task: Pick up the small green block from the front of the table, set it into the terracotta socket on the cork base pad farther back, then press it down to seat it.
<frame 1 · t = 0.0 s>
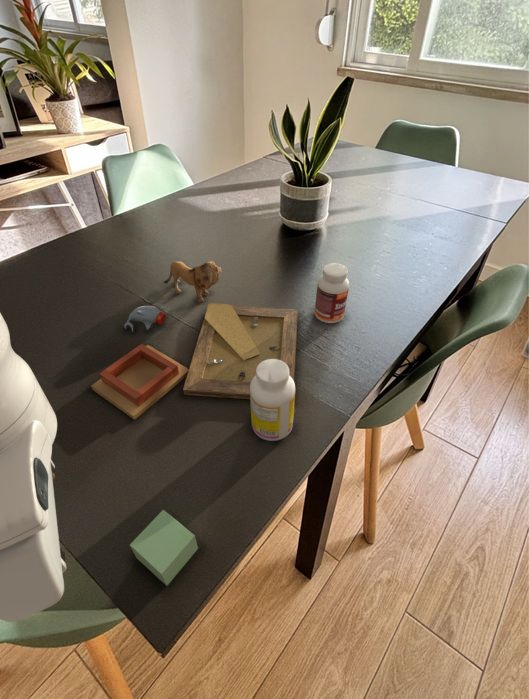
hand: (51, 518, 39), 18 cm above the table, tool pointing down, fingers open, 8 cm apart
lion figurine: (194, 293, 95), on the table
green block: (167, 553, 54), on the table
picture frame: (246, 352, 81), on the table
figurine: (147, 325, 87), on the table
cork base pad: (142, 381, 75), on the table
supplement bottle: (271, 426, 69), on the table
pill bottle: (328, 315, 89), on the table
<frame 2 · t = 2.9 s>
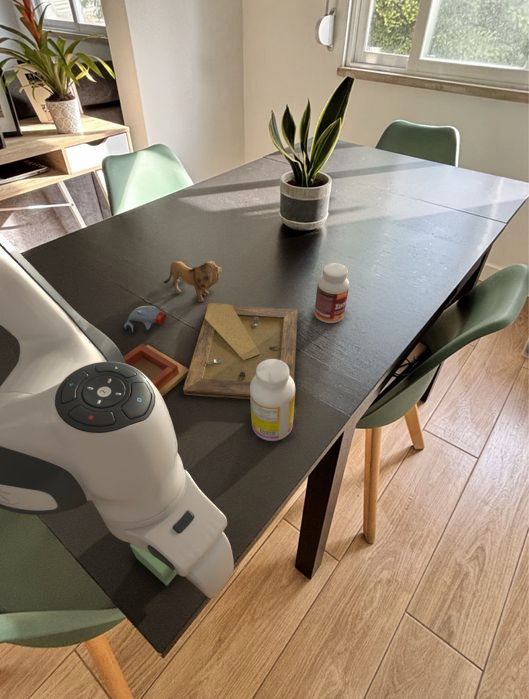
hand: (165, 548, 53), 2 cm above the table, tool pointing down, fingers closed on green block, 5 cm apart
green block: (167, 553, 54), on the table, touching gripper
everything else where it was.
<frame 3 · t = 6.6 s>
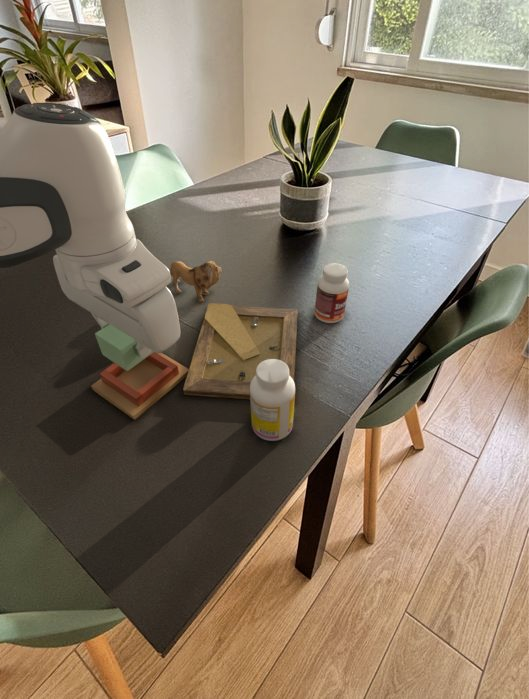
hand: (127, 343, 60), 15 cm above the table, tool pointing down, fingers closed on green block, 5 cm apart
green block: (130, 352, 61), point 14 cm above the table, touching gripper
everything else where it was.
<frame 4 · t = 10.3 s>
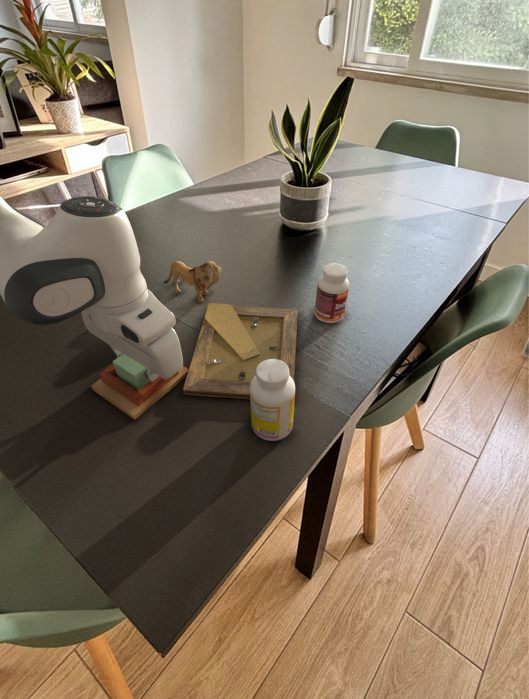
hand: (138, 369, 73), 3 cm above the table, tool pointing down, fingers closed on green block, 5 cm apart
green block: (140, 375, 74), point 1 cm above the table, touching gripper
everything else where it was.
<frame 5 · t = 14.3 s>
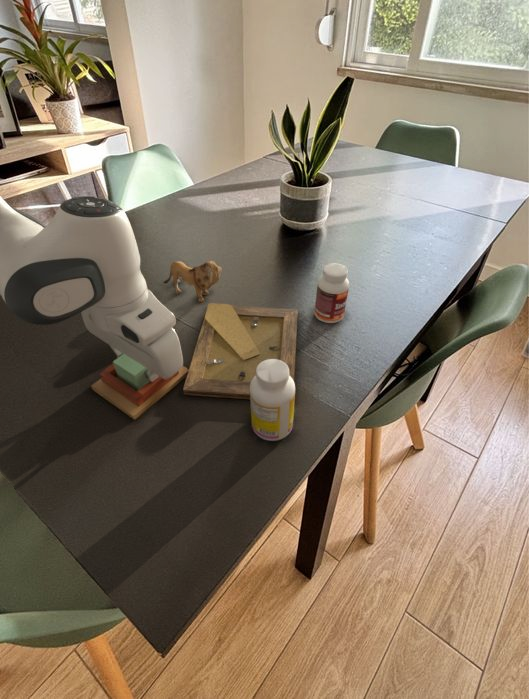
hand: (138, 369, 73), 3 cm above the table, tool pointing down, fingers closed on green block, 5 cm apart
green block: (140, 375, 74), point 1 cm above the table, touching gripper
everything else where it was.
when the fingers open (4 cm above the table, at t = 17.6 s): green block drops 1 cm, resting on cork base pad.
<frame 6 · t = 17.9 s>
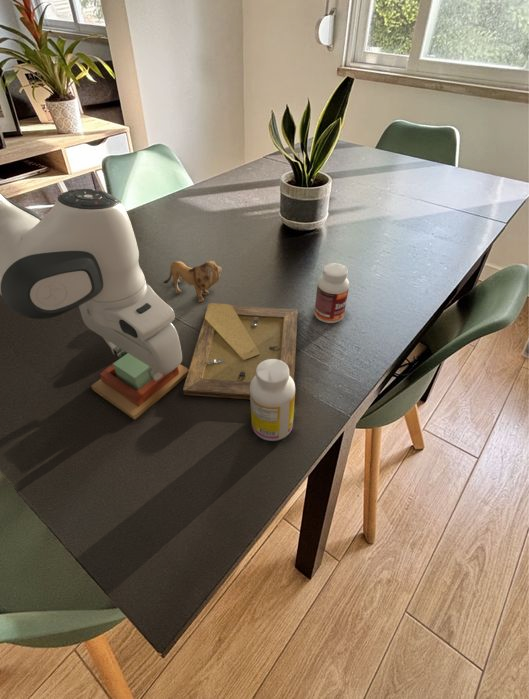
hand: (137, 365, 73), 4 cm above the table, tool pointing down, fingers open, 8 cm apart
green block: (141, 377, 75), point 1 cm above the table, touching cork base pad
everything else where it was.
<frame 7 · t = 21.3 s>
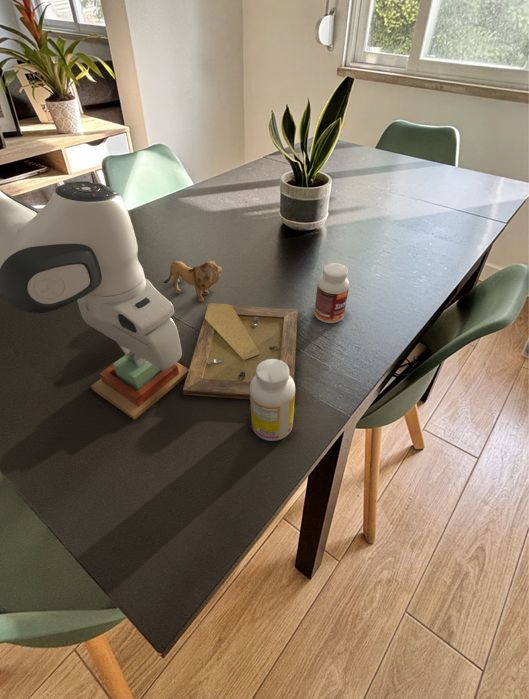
hand: (136, 361, 72), 5 cm above the table, tool pointing down, fingers closed, pressing on green block
green block: (141, 377, 75), point 1 cm above the table, touching cork base pad, gripper
everything else where it was.
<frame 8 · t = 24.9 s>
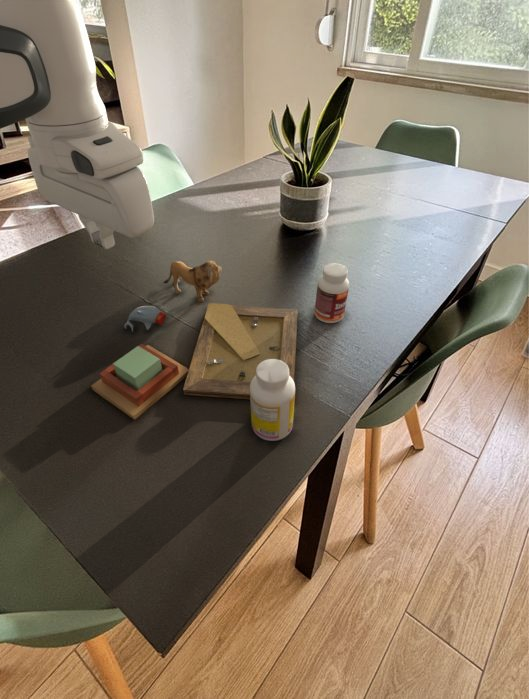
hand: (104, 244, 61), 25 cm above the table, tool pointing down, fingers closed
green block: (141, 377, 75), point 1 cm above the table, touching cork base pad
everything else where it was.
at the end: green block 0.0 cm off-centre on the cork base pad, point 1.0 cm above the cork base pad's base; green block tilted 0°; the gripper is holding nothing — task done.
